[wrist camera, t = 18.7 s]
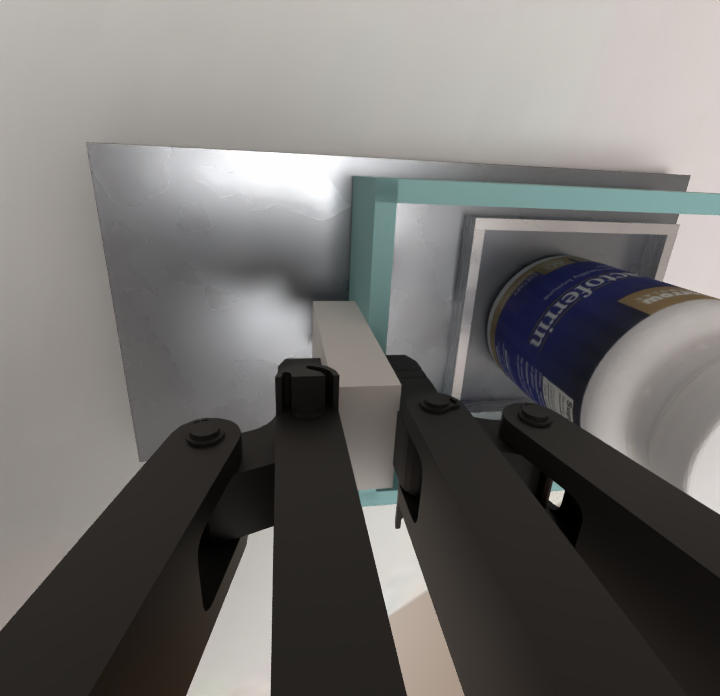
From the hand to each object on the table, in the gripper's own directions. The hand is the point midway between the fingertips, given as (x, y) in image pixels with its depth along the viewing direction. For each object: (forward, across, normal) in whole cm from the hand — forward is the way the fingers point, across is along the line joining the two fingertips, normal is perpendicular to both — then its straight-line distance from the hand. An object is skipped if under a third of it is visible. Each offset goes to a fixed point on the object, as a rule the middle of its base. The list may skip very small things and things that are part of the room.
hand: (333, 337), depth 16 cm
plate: (+3, +3, 0) cm, 4 cm away
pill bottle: (+2, +9, 0) cm, 10 cm away
